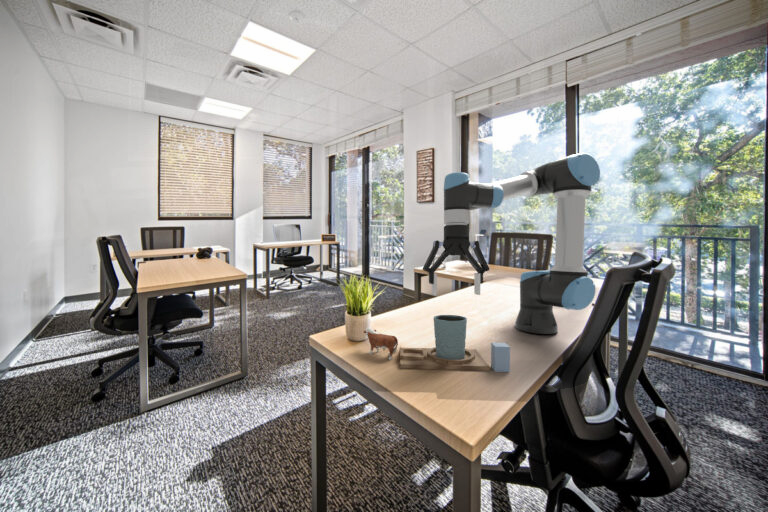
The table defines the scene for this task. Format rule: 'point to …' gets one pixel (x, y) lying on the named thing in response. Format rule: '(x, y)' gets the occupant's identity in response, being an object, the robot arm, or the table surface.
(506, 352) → the block
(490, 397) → the table surface
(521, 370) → the table surface
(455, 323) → the teal cup
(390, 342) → the bull figurine
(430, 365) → the jig
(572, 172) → the robot arm
